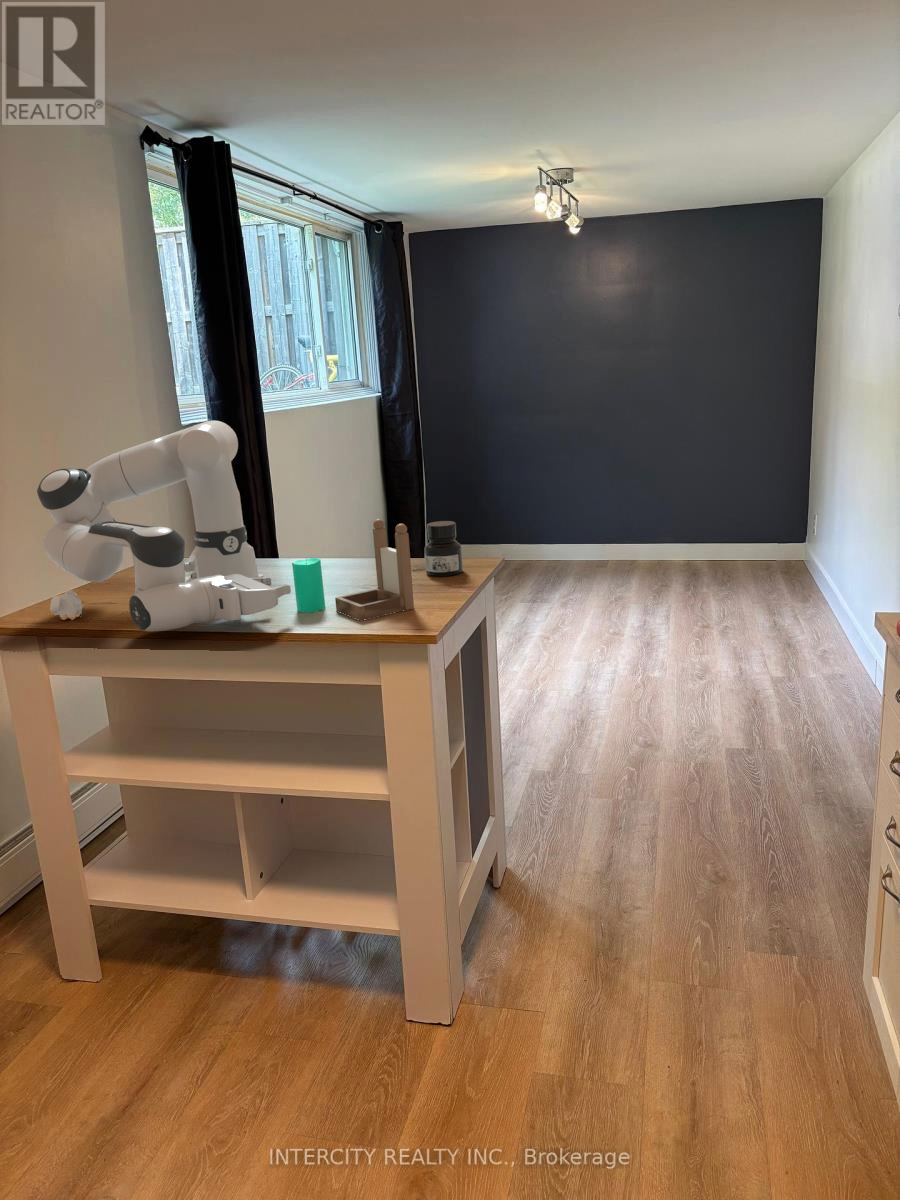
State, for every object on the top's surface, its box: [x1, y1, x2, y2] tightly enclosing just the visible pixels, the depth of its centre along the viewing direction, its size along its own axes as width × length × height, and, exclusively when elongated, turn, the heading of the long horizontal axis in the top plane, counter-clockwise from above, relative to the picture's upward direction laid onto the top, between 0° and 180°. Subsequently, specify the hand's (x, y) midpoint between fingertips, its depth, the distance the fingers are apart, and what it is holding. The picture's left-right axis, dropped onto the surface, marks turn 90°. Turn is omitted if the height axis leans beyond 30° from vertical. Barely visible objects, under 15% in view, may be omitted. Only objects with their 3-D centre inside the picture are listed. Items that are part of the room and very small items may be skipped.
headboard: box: [372, 518, 415, 611], centre depth 197 cm, size 11×2×18 cm, turn 35°
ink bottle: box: [423, 520, 464, 577], centre depth 223 cm, size 10×9×12 cm
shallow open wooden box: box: [334, 587, 405, 621], centre depth 195 cm, size 10×10×3 cm
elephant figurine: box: [48, 589, 83, 618], centre depth 205 cm, size 7×8×6 cm
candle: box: [291, 553, 326, 614], centre depth 199 cm, size 6×6×12 cm
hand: (279, 584), depth 195 cm, fingers open, 8 cm apart
